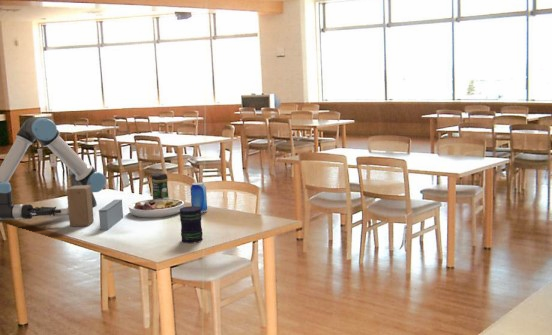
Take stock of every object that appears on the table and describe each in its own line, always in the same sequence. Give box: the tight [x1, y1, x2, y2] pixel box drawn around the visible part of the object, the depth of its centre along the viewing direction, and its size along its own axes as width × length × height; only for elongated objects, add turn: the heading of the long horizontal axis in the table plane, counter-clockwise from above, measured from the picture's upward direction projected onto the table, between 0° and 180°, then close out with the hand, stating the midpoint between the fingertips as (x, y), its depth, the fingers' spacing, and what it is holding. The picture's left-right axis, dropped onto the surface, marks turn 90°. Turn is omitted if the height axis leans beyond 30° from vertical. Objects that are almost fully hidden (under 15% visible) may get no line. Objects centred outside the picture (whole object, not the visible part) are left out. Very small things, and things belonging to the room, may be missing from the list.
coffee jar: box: [151, 172, 170, 199], centre depth 386 cm, size 10×8×19 cm
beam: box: [98, 199, 124, 231], centre depth 341 cm, size 26×4×10 cm, turn 177°
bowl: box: [128, 198, 185, 219], centre depth 364 cm, size 30×30×8 cm
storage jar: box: [179, 205, 203, 244], centre depth 302 cm, size 10×10×15 cm
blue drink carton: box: [190, 181, 208, 214], centre depth 361 cm, size 8×8×16 cm
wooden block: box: [66, 185, 95, 228], centre depth 341 cm, size 10×10×20 cm
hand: (67, 210), depth 342 cm, fingers closed
